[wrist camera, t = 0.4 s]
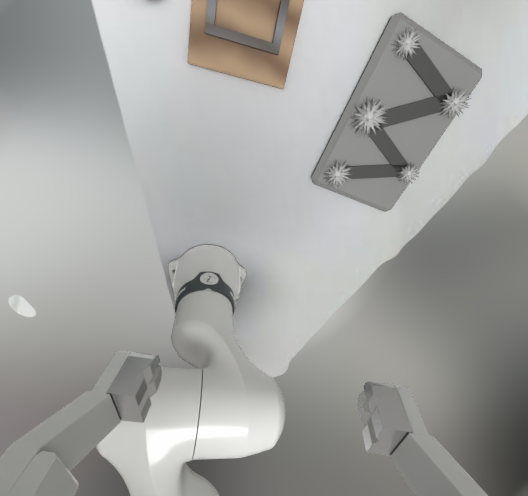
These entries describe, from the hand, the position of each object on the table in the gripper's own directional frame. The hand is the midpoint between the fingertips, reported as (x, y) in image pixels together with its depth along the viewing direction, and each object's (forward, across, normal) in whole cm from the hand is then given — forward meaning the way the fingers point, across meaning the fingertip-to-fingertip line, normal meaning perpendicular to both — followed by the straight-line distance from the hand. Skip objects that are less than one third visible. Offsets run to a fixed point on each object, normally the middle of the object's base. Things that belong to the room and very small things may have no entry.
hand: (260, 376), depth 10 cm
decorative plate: (+54, +21, +4) cm, 58 cm away
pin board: (+47, -8, +20) cm, 52 cm away
